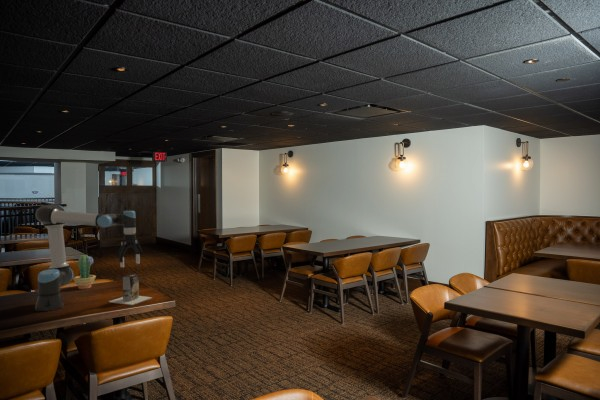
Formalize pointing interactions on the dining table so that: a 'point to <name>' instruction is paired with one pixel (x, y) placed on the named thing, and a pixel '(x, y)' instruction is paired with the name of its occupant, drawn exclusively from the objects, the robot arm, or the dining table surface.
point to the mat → (138, 300)
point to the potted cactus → (84, 272)
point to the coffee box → (130, 287)
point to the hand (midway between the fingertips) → (130, 265)
